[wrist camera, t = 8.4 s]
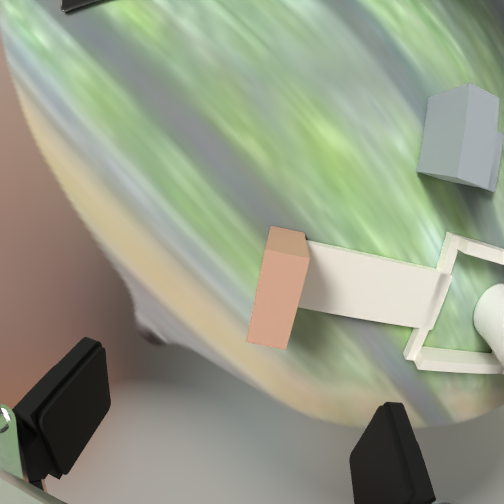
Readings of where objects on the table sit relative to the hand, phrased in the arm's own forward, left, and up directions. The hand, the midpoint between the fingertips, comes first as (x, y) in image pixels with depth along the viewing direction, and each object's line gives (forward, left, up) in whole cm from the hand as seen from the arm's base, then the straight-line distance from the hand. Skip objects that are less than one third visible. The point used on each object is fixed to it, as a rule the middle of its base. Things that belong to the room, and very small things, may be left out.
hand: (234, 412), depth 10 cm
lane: (0, +13, -16) cm, 20 cm away
